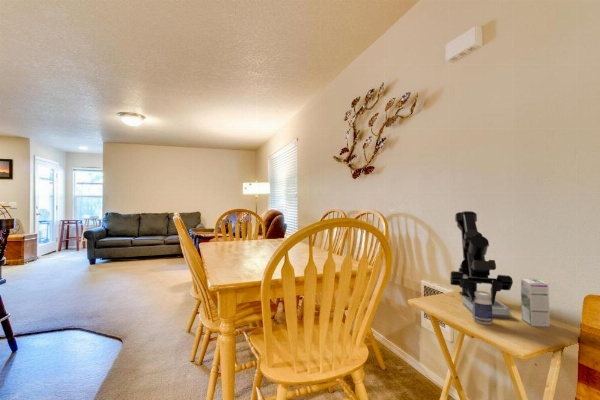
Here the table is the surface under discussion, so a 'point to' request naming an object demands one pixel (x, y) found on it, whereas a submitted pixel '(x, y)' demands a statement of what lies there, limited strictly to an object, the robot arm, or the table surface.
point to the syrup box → (535, 302)
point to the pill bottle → (482, 308)
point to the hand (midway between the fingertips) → (483, 302)
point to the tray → (497, 308)
